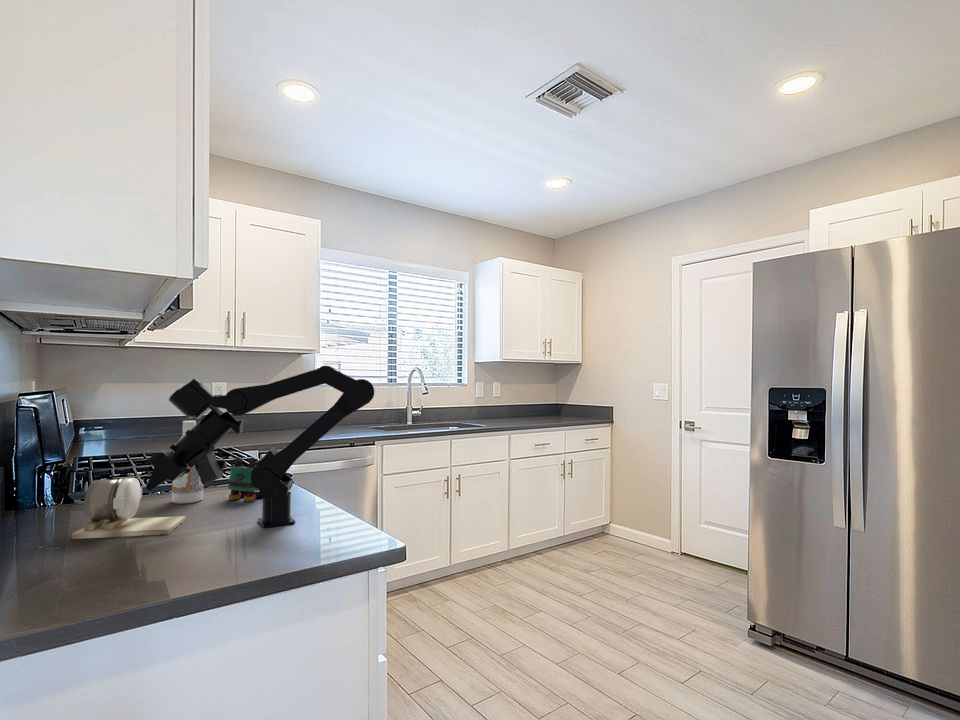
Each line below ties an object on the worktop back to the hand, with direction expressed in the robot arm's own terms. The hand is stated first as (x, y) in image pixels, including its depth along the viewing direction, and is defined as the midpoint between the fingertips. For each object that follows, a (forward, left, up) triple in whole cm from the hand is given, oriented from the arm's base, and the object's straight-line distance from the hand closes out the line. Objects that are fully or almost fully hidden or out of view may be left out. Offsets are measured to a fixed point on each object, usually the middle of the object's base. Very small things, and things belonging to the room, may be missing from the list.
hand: (148, 489), depth 110 cm
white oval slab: (+1, +3, -6) cm, 7 cm away
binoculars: (+19, -23, -8) cm, 31 cm away
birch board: (+1, +3, -8) cm, 9 cm away
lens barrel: (+3, +7, -6) cm, 10 cm away
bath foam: (+23, -9, -8) cm, 26 cm away
